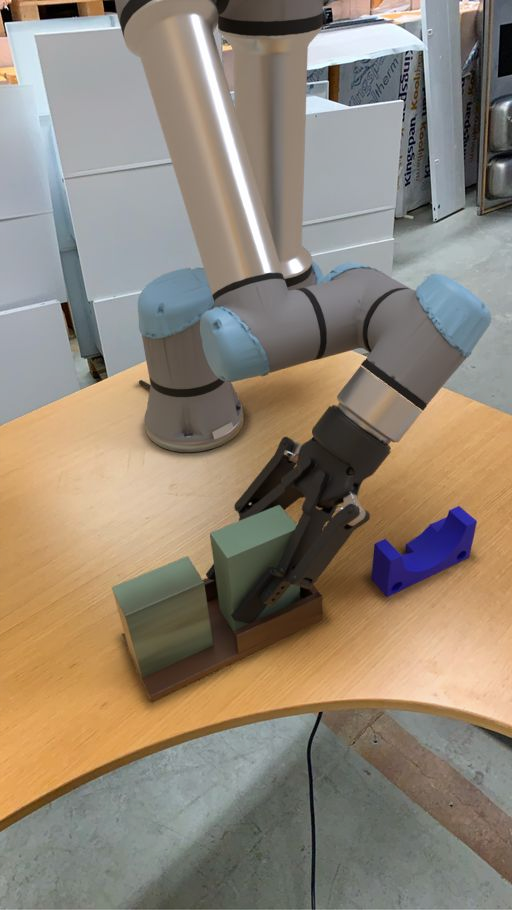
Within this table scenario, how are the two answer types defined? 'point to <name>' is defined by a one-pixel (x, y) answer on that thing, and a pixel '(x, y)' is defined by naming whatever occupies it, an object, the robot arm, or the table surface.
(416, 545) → the blue cradle bracket
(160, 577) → the brown desk organizer
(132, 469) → the table surface
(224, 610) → the green rectangular block
